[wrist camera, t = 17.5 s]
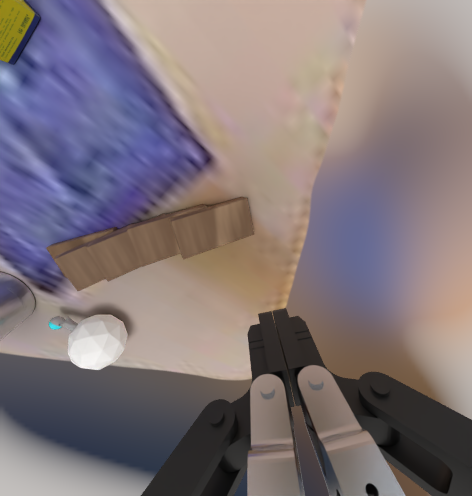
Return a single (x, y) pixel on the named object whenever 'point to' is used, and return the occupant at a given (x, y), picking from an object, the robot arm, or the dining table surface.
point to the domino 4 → (156, 237)
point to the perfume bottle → (93, 340)
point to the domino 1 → (75, 243)
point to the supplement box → (15, 28)
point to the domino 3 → (115, 254)
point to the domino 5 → (212, 227)
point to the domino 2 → (81, 265)
